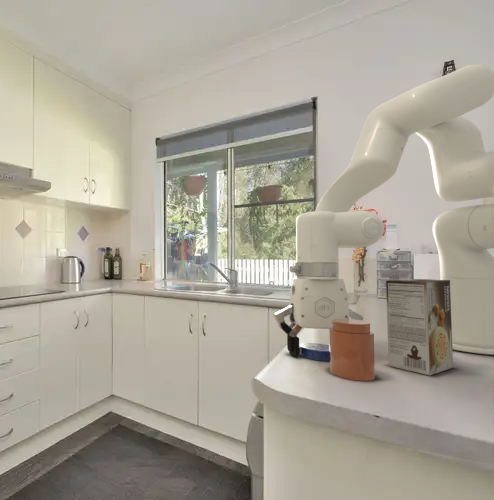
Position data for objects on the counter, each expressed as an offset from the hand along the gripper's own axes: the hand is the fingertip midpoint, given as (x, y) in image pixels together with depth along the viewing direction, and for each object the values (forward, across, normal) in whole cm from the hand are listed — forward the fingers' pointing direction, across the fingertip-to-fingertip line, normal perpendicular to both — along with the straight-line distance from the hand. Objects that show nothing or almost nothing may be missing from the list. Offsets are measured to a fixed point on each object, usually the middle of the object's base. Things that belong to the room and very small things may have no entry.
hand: (317, 355), depth 69 cm
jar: (0, 0, -11) cm, 11 cm away
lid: (-1, 0, 0) cm, 1 cm away
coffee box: (0, +15, -6) cm, 16 cm away
